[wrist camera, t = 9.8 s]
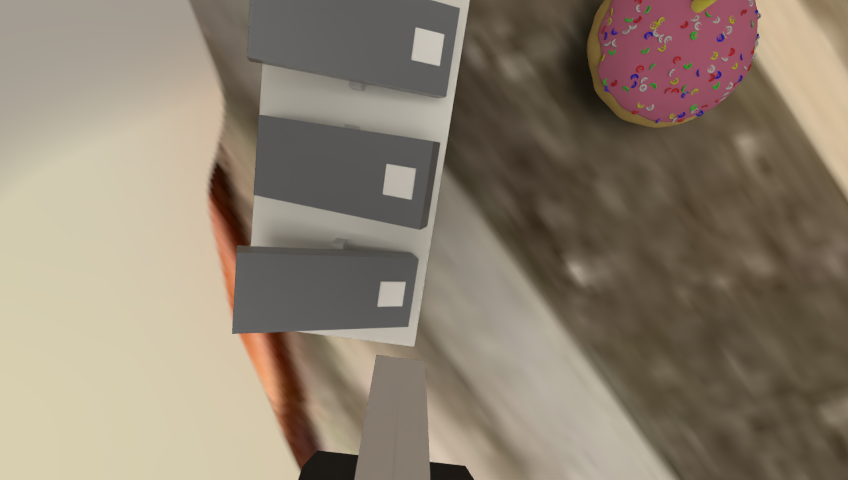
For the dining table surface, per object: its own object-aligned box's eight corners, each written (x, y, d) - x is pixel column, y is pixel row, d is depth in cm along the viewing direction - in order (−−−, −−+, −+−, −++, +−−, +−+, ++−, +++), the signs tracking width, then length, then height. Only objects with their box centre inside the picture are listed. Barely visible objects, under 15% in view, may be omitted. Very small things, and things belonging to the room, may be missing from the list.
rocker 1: (254, -39, 18) (252, -51, 17) (450, 14, 21) (460, 7, 20) (249, 61, 19) (246, 56, 18) (438, 98, 22) (446, 97, 20)
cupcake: (548, 9, 26) (658, -101, 14) (684, -36, 26) (912, -187, 14) (579, 145, 28) (698, 147, 16) (705, 105, 27) (922, 77, 16)
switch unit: (293, -18, 25) (253, -71, 19) (461, 12, 26) (476, -30, 20) (269, 294, 30) (230, 334, 23) (414, 313, 30) (413, 358, 24)
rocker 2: (273, 117, 22) (257, 114, 21) (440, 142, 20) (432, 140, 18) (268, 193, 23) (252, 195, 21) (427, 226, 20) (419, 230, 19)
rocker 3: (237, 245, 20) (236, 253, 19) (410, 252, 24) (419, 259, 23) (232, 322, 21) (232, 334, 20) (400, 317, 25) (408, 327, 24)
